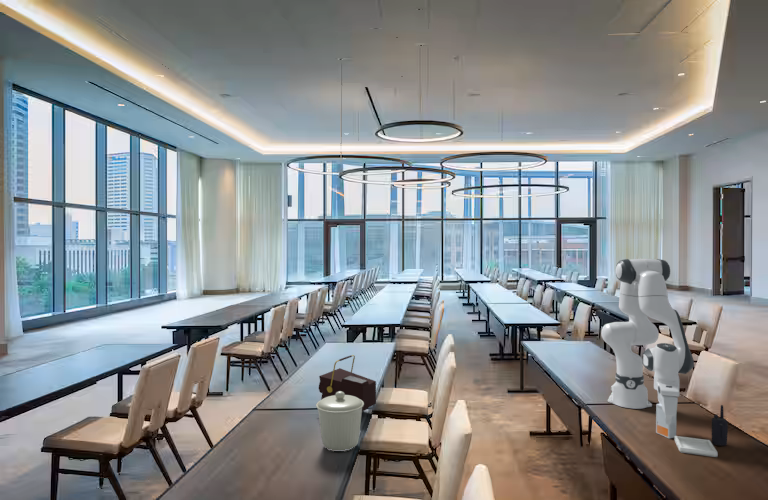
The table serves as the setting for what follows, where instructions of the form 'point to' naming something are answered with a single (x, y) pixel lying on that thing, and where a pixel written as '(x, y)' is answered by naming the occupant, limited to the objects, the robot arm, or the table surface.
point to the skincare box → (664, 423)
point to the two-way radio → (719, 429)
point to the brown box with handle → (348, 385)
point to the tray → (695, 446)
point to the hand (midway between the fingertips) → (666, 420)
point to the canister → (340, 420)
